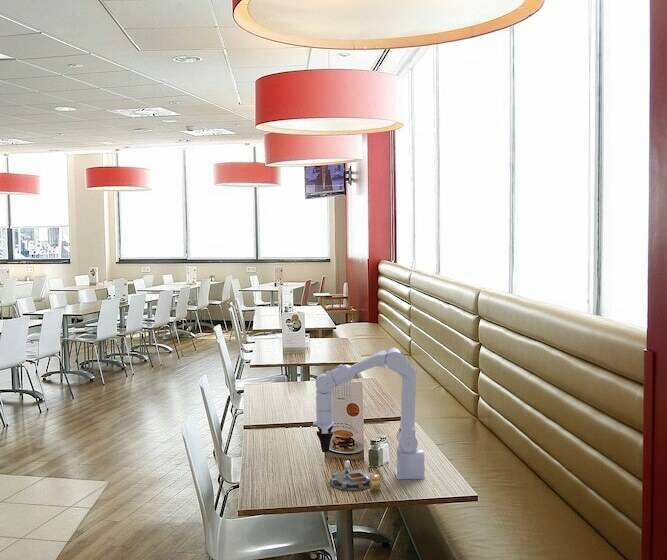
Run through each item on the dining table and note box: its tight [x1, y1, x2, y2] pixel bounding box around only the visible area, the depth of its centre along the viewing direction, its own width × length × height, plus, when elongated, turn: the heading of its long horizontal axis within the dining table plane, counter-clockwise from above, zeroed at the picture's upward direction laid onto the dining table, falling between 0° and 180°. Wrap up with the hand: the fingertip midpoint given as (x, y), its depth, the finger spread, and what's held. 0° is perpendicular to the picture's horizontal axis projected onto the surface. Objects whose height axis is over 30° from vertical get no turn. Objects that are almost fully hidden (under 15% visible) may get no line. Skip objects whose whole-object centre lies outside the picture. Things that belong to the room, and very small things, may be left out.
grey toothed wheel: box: [331, 459, 374, 488], centre depth 243 cm, size 14×14×6 cm
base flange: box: [329, 478, 370, 492], centre depth 243 cm, size 15×15×1 cm
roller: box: [369, 473, 381, 494], centre depth 235 cm, size 3×3×5 cm
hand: (325, 448), depth 249 cm, fingers open, 7 cm apart
